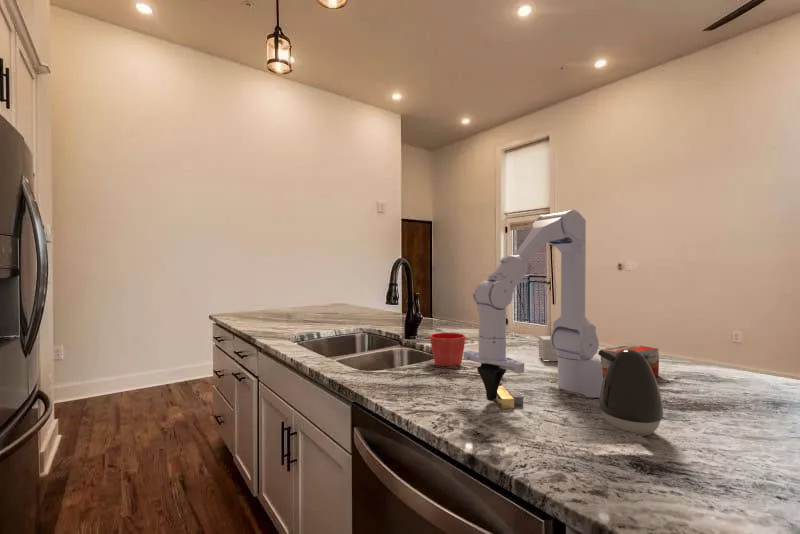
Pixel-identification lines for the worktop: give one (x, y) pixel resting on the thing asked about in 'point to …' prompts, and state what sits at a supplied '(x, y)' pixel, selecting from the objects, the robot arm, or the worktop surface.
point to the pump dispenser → (630, 393)
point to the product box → (546, 349)
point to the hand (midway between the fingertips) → (491, 399)
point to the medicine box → (647, 352)
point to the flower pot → (447, 348)
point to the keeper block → (516, 398)
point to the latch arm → (504, 398)
